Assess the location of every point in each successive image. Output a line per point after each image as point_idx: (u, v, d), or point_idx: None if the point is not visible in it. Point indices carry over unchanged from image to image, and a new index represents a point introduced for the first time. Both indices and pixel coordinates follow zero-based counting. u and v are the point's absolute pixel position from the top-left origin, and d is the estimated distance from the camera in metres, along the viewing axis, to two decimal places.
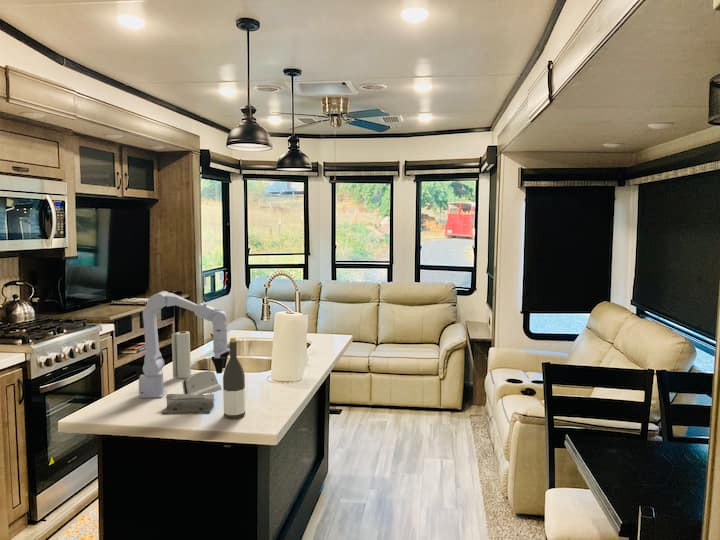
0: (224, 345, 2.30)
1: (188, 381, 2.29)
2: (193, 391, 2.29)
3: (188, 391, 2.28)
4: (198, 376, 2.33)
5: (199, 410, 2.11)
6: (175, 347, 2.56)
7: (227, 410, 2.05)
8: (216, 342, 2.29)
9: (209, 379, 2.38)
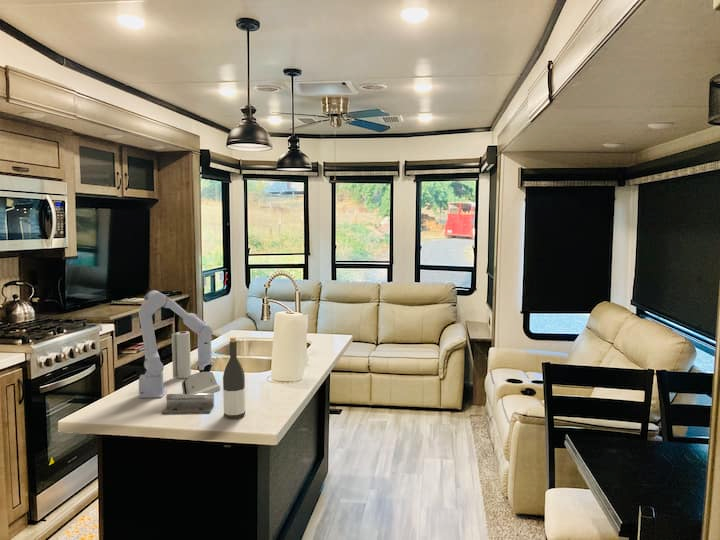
0: (208, 357, 2.40)
1: (188, 382, 2.27)
2: (193, 392, 2.28)
3: (188, 392, 2.26)
4: (197, 376, 2.32)
5: (199, 410, 2.11)
6: (175, 347, 2.56)
7: (227, 410, 2.05)
8: (200, 354, 2.39)
9: (208, 379, 2.36)
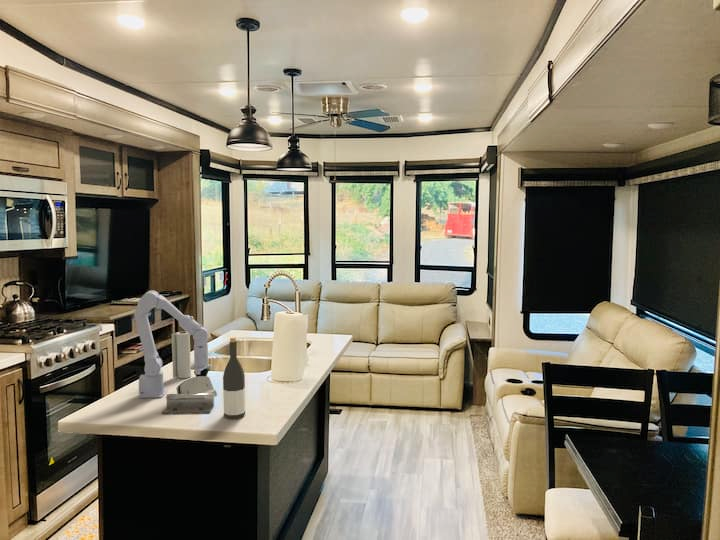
0: (205, 361, 2.34)
1: (182, 387, 2.21)
2: None
3: None
4: (192, 381, 2.25)
5: (199, 410, 2.11)
6: (175, 347, 2.56)
7: (227, 410, 2.05)
8: (197, 358, 2.33)
9: (204, 384, 2.30)
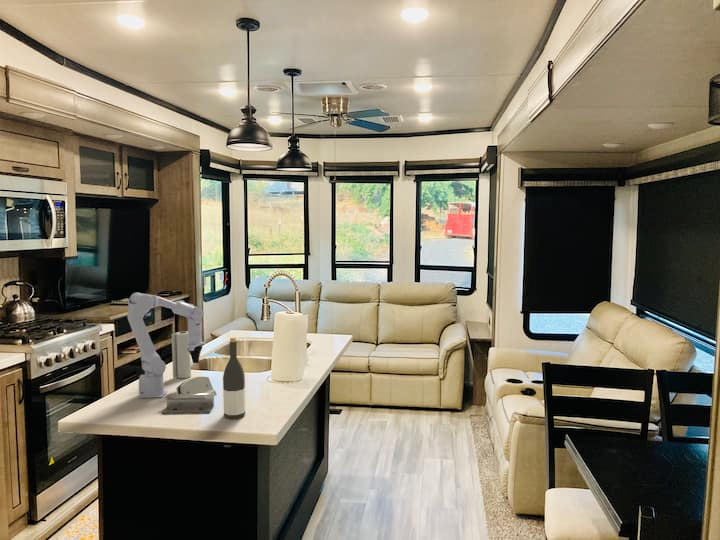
0: (198, 338, 2.43)
1: (183, 387, 2.21)
2: None
3: None
4: (192, 381, 2.25)
5: (199, 410, 2.11)
6: (175, 347, 2.56)
7: (227, 410, 2.05)
8: (190, 336, 2.42)
9: (204, 385, 2.30)
